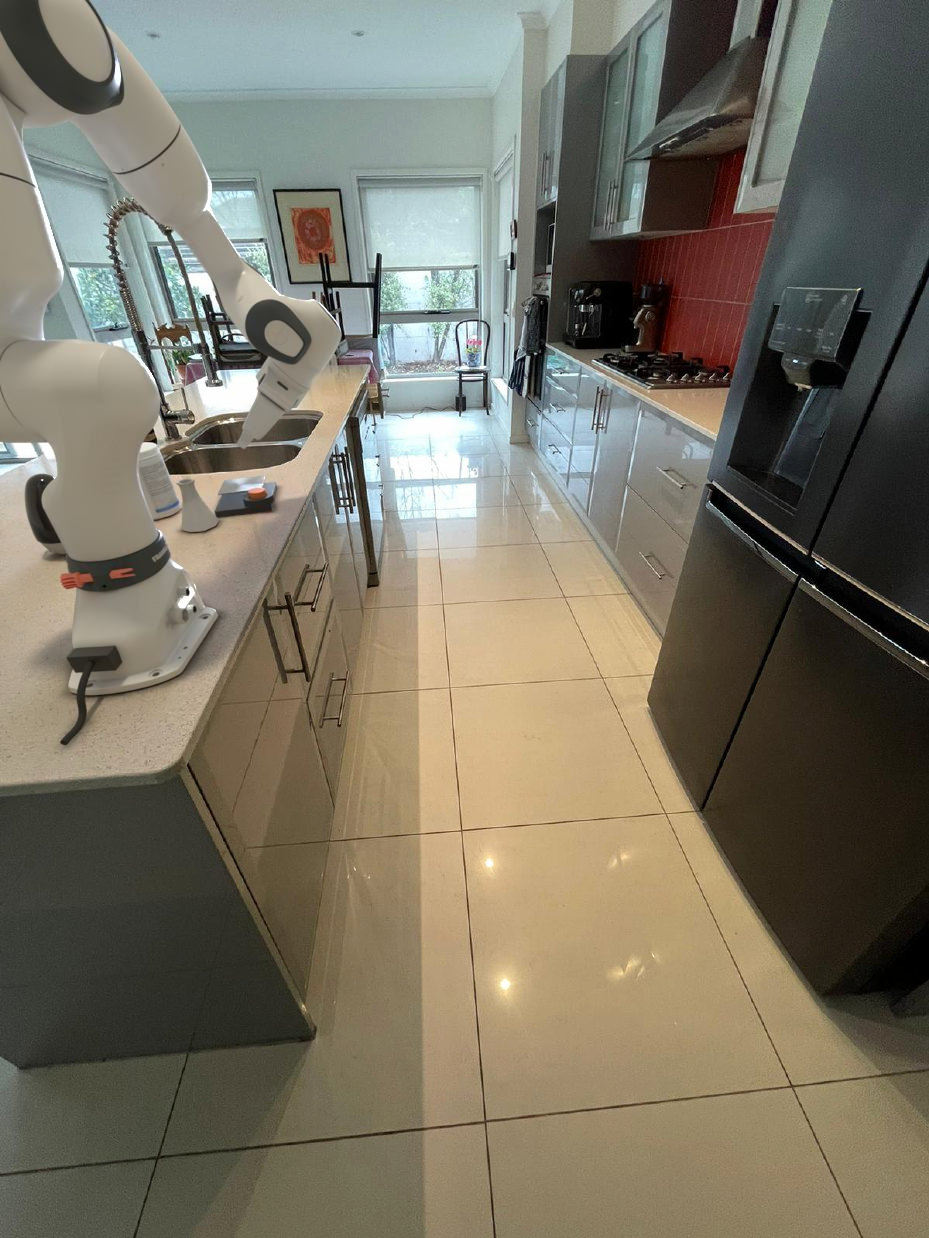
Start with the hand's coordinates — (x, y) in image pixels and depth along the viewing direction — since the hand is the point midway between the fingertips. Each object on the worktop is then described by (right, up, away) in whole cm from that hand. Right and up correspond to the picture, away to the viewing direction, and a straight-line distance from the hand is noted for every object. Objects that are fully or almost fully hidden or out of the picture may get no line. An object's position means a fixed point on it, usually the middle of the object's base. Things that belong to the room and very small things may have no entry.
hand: (242, 441), depth 103 cm
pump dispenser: (-34, -22, 0) cm, 40 cm away
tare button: (-2, -8, +13) cm, 16 cm away
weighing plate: (-8, -4, +18) cm, 21 cm away
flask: (-12, -16, +7) cm, 21 cm away
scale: (-7, -8, +18) cm, 21 cm away
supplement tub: (-25, -12, +14) cm, 31 cm away
